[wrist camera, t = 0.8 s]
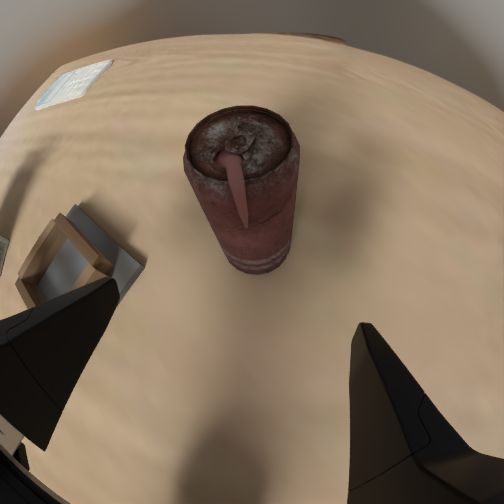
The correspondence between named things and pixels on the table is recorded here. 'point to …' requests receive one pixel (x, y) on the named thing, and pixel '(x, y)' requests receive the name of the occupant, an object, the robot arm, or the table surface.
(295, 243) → the table surface
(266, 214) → the can
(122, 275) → the collar
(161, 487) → the table surface
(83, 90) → the calculator
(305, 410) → the table surface
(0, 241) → the coffee box
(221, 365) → the table surface
